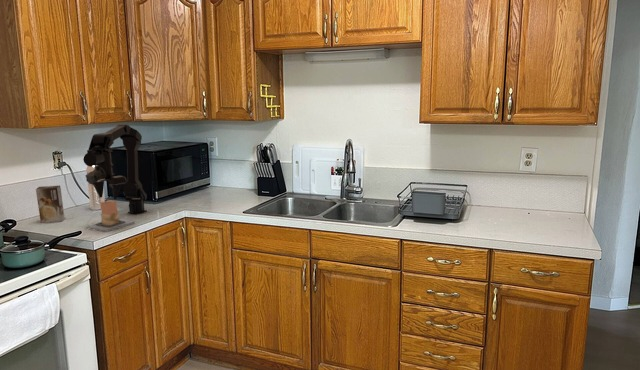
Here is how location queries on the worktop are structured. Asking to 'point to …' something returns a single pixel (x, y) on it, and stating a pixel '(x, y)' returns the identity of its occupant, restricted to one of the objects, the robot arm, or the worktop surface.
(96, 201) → the water bottle
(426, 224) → the worktop surface
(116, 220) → the oak cube
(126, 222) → the grey flat square plate
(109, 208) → the terracotta block
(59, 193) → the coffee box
